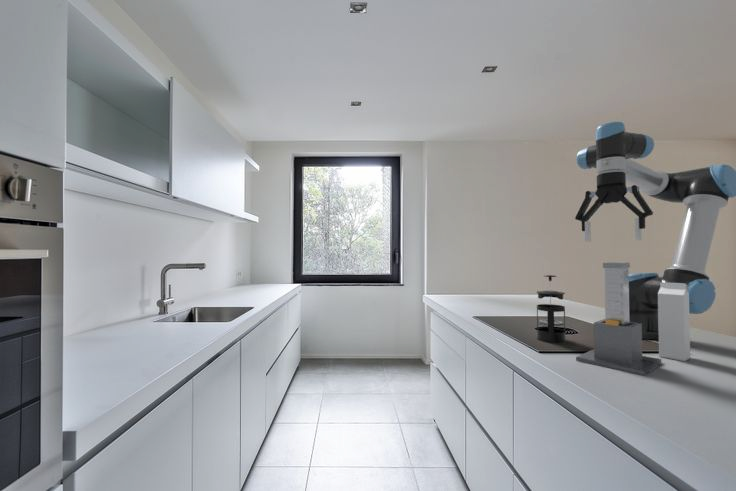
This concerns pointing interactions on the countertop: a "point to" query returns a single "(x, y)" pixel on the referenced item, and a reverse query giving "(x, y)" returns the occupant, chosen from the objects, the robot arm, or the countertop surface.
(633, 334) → the base
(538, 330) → the french press
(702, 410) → the countertop surface
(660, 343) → the milk
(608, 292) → the column
